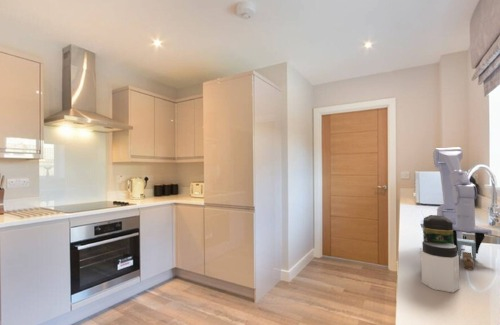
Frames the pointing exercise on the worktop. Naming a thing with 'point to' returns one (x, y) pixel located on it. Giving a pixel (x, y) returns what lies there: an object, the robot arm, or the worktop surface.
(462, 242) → the light blue open box
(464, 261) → the brown board
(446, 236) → the coffee jar
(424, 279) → the jar
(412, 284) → the worktop surface
